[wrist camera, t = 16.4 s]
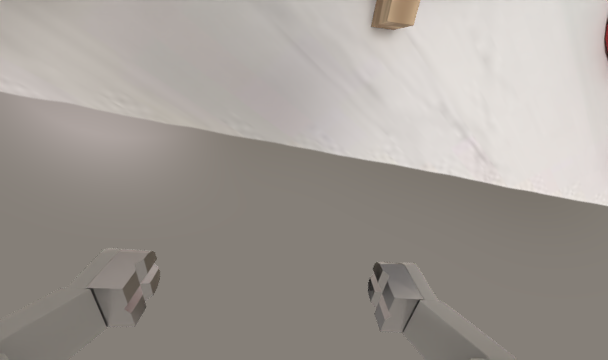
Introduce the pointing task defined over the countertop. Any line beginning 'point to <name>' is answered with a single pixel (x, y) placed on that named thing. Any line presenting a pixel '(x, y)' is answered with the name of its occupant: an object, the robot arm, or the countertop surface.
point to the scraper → (395, 13)
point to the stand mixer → (607, 37)
